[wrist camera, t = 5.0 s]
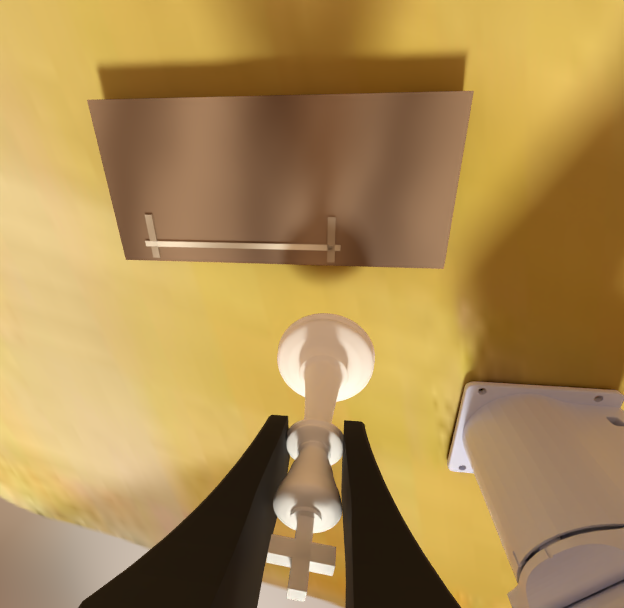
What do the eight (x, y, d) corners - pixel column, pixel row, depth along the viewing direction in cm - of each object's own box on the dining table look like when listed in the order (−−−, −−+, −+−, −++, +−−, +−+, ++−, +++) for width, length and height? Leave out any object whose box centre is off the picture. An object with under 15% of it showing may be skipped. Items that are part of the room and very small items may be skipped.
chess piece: (283, 304, 16) (191, 505, 7) (384, 322, 15) (435, 555, 6) (274, 385, 18) (194, 624, 9) (363, 402, 17) (378, 664, 8)
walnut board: (462, 97, 15) (474, 90, 14) (436, 260, 19) (444, 269, 17) (108, 104, 17) (85, 99, 16) (141, 252, 20) (124, 259, 19)
